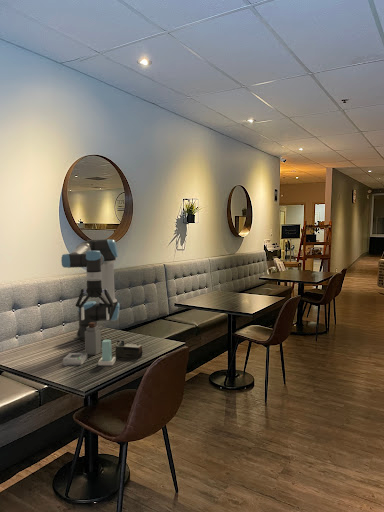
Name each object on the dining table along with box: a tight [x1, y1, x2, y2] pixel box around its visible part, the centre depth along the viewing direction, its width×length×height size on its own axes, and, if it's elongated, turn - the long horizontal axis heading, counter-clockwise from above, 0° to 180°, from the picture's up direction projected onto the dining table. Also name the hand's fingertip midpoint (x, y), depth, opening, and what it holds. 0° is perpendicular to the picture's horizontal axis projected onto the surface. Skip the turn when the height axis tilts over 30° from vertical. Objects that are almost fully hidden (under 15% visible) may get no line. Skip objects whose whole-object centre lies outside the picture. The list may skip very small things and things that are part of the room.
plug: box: [101, 339, 113, 361], centre depth 213 cm, size 4×4×12 cm
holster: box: [97, 356, 117, 366], centre depth 213 cm, size 8×8×3 cm
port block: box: [62, 352, 88, 366], centre depth 216 cm, size 10×10×4 cm
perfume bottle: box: [84, 322, 102, 355], centre depth 230 cm, size 7×7×18 cm
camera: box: [114, 339, 144, 360], centre depth 224 cm, size 15×8×10 cm, turn 73°
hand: (95, 319), depth 212 cm, fingers open, 13 cm apart
